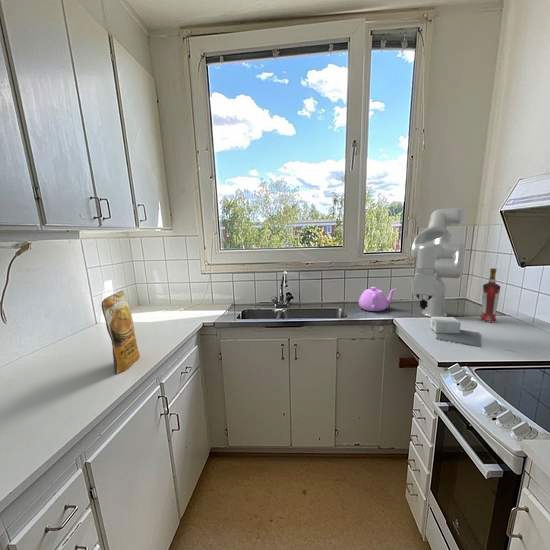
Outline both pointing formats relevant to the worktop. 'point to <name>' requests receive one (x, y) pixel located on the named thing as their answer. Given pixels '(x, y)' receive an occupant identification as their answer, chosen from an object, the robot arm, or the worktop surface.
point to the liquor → (490, 298)
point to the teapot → (375, 299)
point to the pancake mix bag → (120, 331)
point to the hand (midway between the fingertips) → (423, 308)
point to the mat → (461, 337)
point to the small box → (445, 325)
